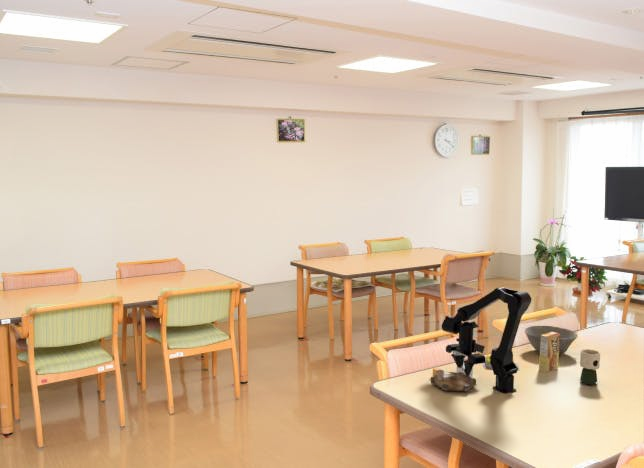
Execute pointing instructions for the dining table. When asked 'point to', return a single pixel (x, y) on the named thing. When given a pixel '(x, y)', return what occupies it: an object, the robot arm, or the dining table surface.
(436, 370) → the index pointer
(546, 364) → the candy box
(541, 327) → the ceramic bowl
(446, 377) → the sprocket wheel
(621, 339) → the dining table surface
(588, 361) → the character mug
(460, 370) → the grey small block
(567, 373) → the dining table surface
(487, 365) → the emergency button
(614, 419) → the dining table surface
